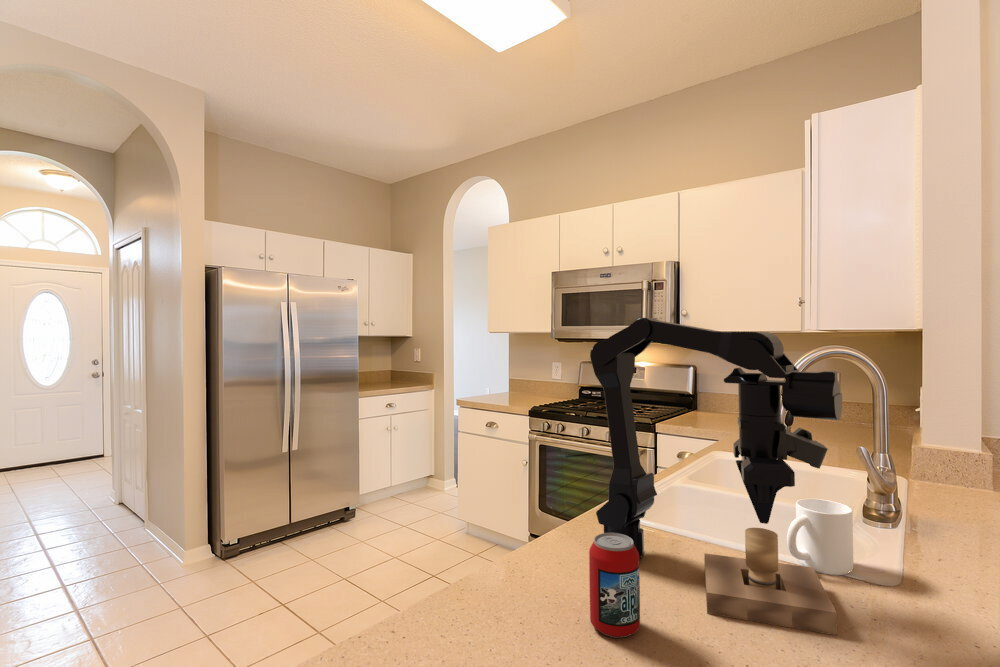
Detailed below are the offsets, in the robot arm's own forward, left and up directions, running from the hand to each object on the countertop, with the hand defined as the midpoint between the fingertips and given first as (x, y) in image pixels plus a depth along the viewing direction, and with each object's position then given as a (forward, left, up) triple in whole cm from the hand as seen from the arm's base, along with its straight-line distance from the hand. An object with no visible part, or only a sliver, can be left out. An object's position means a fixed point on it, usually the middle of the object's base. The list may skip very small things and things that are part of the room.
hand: (761, 516), depth 76 cm
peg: (0, 0, -12) cm, 12 cm away
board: (0, 0, -12) cm, 12 cm away
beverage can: (-20, -15, -13) cm, 28 cm away
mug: (+10, +15, -13) cm, 22 cm away
